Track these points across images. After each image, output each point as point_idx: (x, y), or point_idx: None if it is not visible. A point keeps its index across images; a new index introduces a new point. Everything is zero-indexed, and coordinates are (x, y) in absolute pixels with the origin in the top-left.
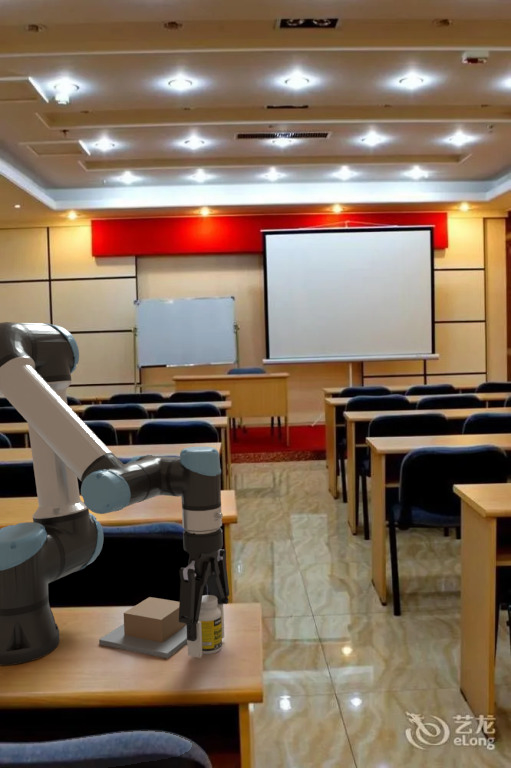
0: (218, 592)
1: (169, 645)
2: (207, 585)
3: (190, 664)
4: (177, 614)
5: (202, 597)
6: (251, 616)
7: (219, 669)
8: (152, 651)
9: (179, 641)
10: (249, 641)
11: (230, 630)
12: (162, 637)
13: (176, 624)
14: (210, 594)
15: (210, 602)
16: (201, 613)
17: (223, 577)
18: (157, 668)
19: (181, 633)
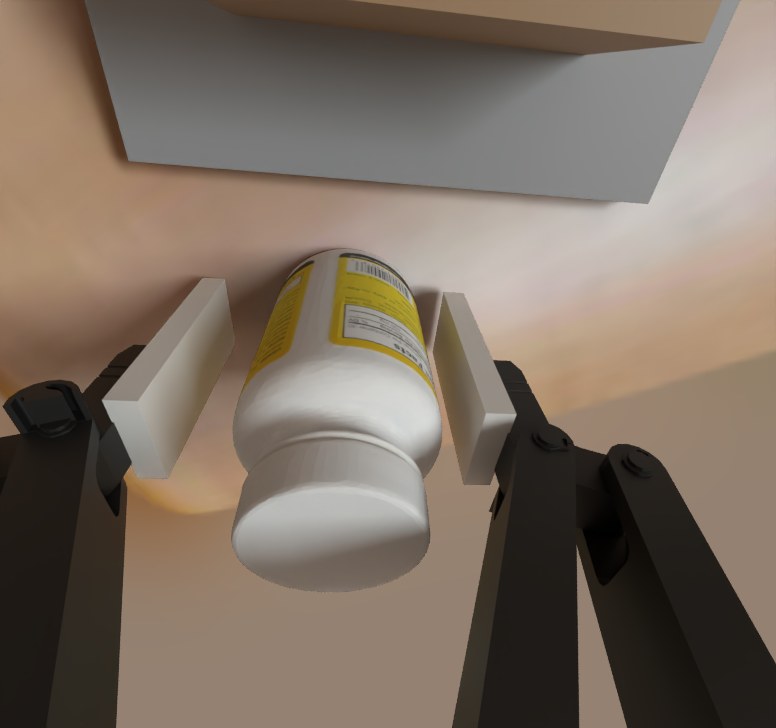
0: (480, 578)
1: (226, 111)
2: (497, 597)
3: (175, 303)
4: (500, 28)
5: (345, 516)
6: (718, 354)
7: (211, 413)
8: (89, 8)
9: (308, 154)
10: None
11: (558, 326)
12: (233, 10)
13: (459, 32)
14: (513, 486)
15: (274, 581)
16: (253, 459)
17: (630, 716)
18: (18, 156)
19: (421, 103)
